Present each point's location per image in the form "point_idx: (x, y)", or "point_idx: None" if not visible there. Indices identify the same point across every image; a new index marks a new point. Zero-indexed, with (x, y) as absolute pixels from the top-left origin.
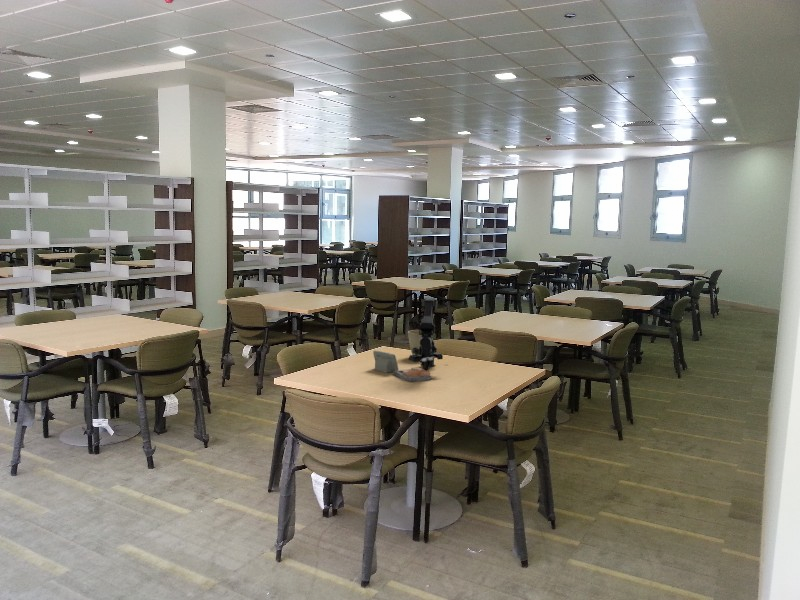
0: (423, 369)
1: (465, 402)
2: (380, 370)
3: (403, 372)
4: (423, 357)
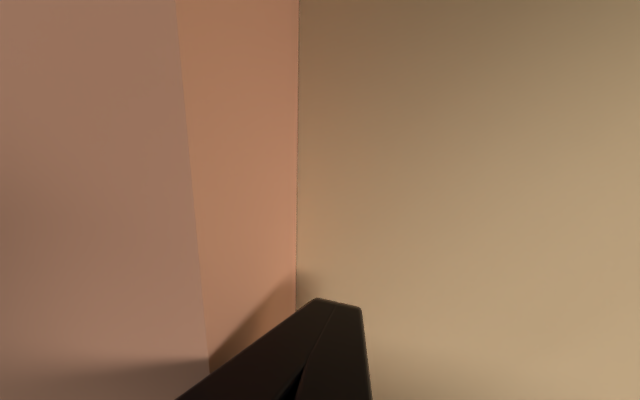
0: None
1: None
2: None
3: None
4: None
